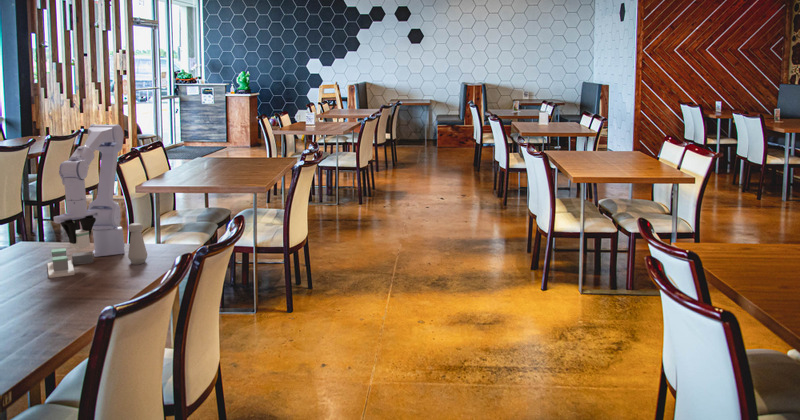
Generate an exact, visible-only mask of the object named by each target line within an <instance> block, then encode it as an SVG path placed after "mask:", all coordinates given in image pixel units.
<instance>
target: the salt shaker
mask: <svg viewBox="0 0 800 420" xmlns="http://www.w3.org/2000/svg"><path fill="white" fill-rule="evenodd" d="M143 228H144V227H143V224H142V223H139V222H133V223H130V224H129V225H128V228H127V229H128V232H130V238H129V246H128V255H127V256H128V259H129V261H130V264H131V265H142V264H145V263H146V260H147V259H148V251H147V248H146V245H145V241H144V237H143V233H142V231H143Z"/></svg>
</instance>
